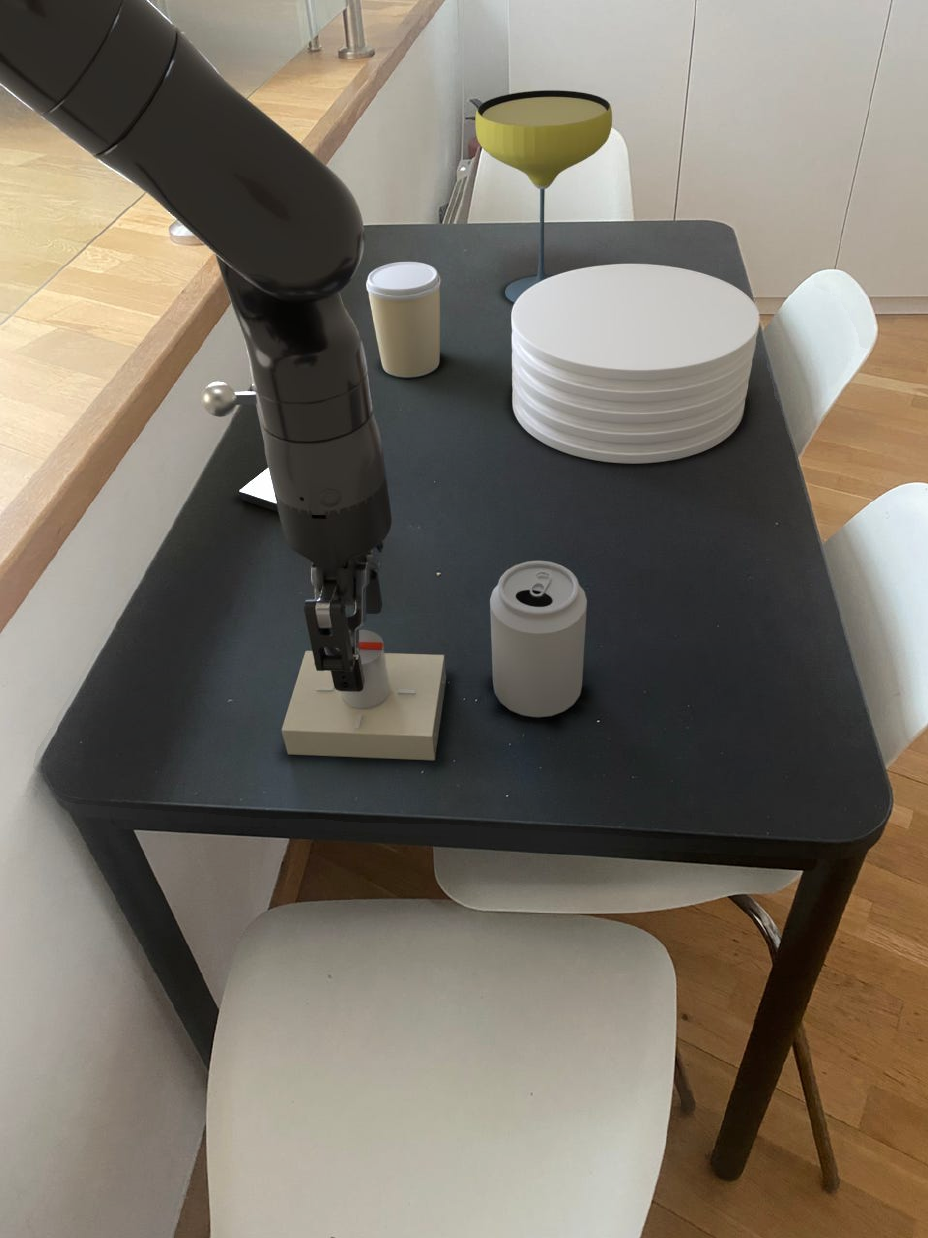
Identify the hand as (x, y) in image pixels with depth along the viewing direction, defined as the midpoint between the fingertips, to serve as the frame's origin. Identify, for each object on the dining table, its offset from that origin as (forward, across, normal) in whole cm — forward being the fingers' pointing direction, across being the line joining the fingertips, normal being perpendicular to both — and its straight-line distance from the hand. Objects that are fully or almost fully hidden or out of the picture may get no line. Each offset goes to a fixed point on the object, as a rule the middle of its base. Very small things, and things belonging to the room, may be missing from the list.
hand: (360, 648), depth 72 cm
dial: (+5, 0, 0) cm, 5 cm away
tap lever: (-4, -29, -15) cm, 33 cm away
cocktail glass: (+8, -85, +12) cm, 86 cm away
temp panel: (+8, 0, 0) cm, 8 cm away
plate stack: (+8, -52, +23) cm, 58 cm away
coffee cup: (+8, -62, -5) cm, 63 cm away
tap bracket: (+8, -34, -13) cm, 37 cm away
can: (+8, -3, +14) cm, 16 cm away
